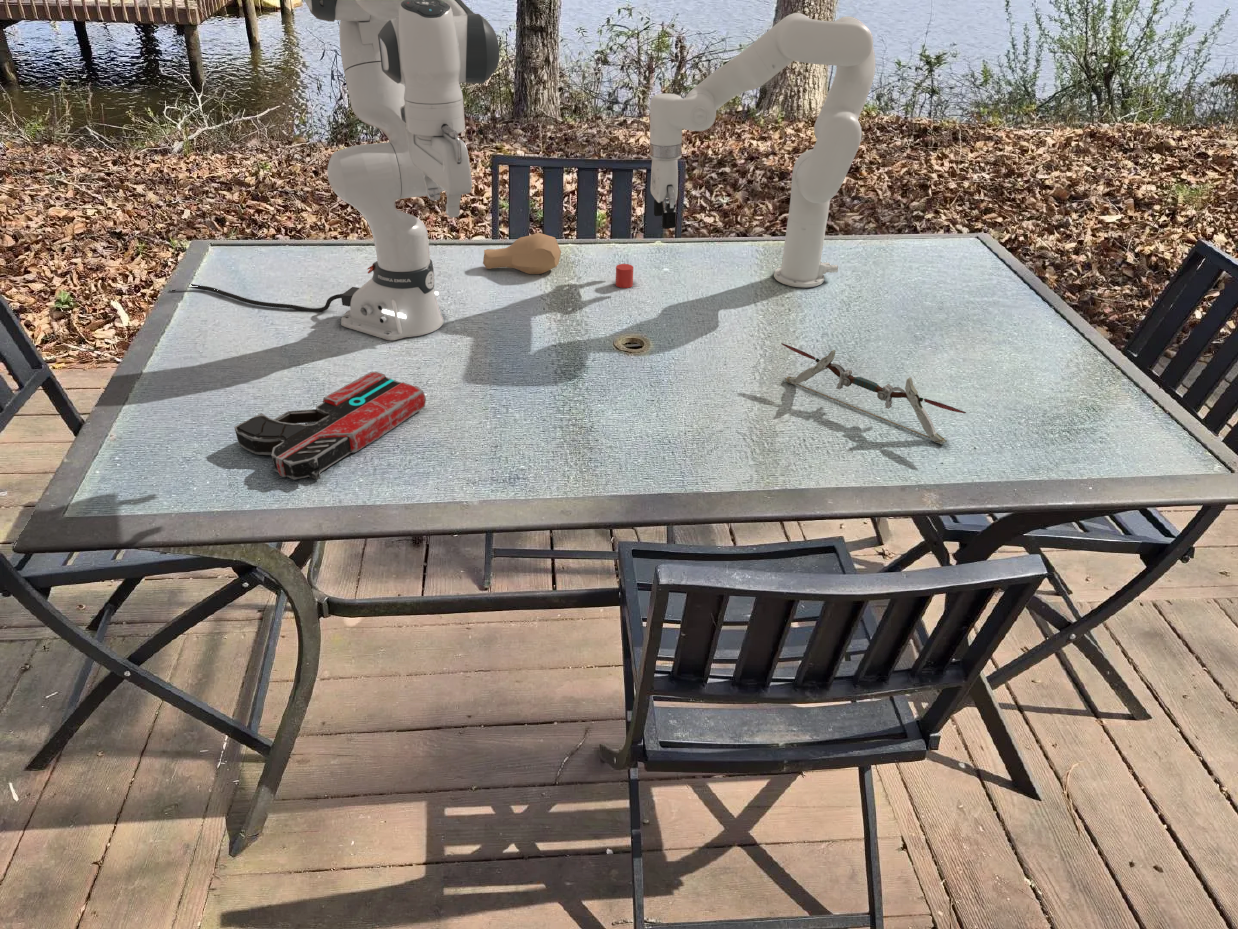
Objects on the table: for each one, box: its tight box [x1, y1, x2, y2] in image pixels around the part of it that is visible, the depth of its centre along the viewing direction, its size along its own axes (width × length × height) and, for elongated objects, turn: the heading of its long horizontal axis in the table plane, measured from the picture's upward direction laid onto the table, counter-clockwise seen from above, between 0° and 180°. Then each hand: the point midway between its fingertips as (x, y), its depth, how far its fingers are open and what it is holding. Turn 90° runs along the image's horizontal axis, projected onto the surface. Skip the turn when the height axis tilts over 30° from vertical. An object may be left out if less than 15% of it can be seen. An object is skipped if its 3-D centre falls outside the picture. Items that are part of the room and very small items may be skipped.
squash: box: [482, 232, 562, 275], centre depth 222 cm, size 11×20×9 cm, turn 90°
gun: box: [234, 371, 427, 481], centre depth 156 cm, size 4×31×19 cm
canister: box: [615, 263, 634, 289], centre depth 216 cm, size 4×4×5 cm
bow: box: [780, 342, 967, 445], centre depth 165 cm, size 39×2×10 cm, turn 47°
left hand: (443, 207), depth 143 cm, fingers open, 8 cm apart
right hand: (664, 221), depth 217 cm, fingers open, 9 cm apart
